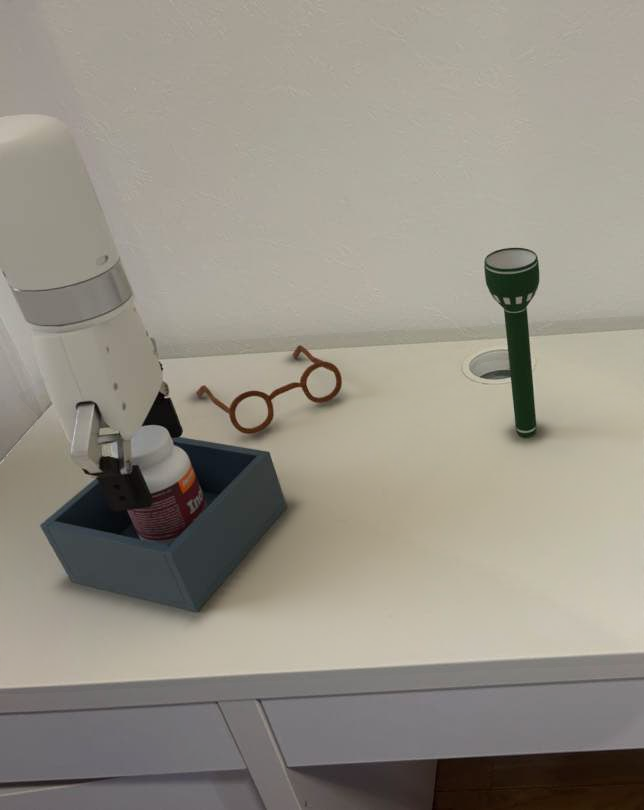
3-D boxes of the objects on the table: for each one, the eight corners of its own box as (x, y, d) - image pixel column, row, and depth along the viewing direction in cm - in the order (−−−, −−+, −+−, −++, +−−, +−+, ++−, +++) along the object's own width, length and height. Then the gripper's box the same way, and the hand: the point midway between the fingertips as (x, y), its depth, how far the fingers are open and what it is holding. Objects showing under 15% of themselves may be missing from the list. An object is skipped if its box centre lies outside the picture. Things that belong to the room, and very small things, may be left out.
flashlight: (547, 416, 87) (534, 244, 76) (553, 443, 83) (541, 266, 72) (500, 421, 87) (481, 250, 76) (504, 449, 83) (485, 272, 71)
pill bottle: (219, 546, 72) (180, 449, 66) (146, 569, 70) (99, 472, 64) (212, 505, 77) (175, 412, 71) (144, 527, 75) (100, 432, 69)
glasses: (240, 443, 87) (227, 405, 84) (196, 396, 95) (183, 360, 92) (347, 395, 93) (338, 358, 90) (297, 355, 102) (288, 321, 99)
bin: (71, 582, 71) (39, 525, 67) (173, 485, 81) (150, 431, 77) (197, 612, 67) (171, 554, 63) (287, 507, 77) (269, 451, 73)
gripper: (65, 251, 66) (135, 418, 76) (-32, 355, 52) (69, 545, 62) (157, 242, 67) (216, 409, 76) (86, 342, 53) (168, 533, 62)
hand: (150, 470), depth 69 cm, fingers open, 9 cm apart
